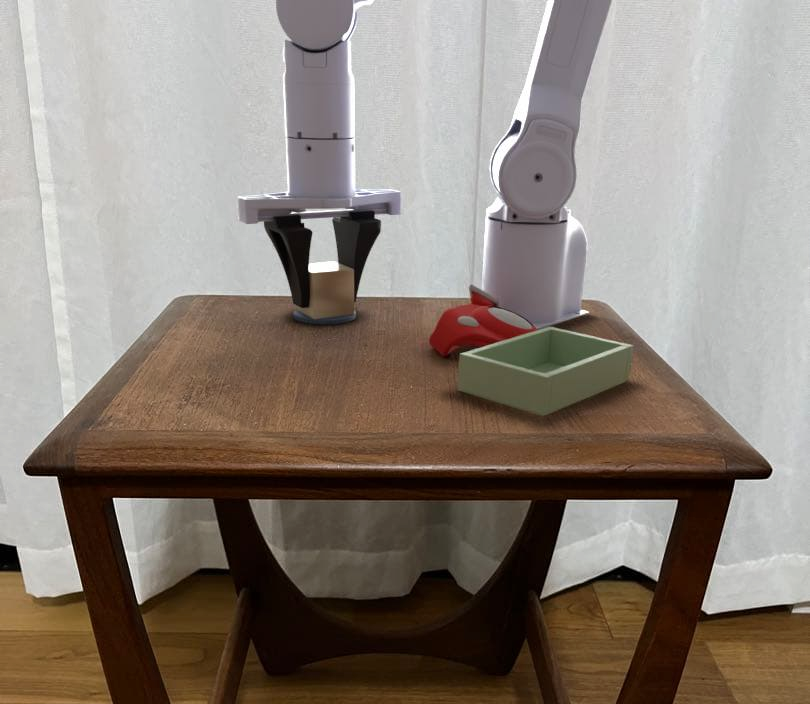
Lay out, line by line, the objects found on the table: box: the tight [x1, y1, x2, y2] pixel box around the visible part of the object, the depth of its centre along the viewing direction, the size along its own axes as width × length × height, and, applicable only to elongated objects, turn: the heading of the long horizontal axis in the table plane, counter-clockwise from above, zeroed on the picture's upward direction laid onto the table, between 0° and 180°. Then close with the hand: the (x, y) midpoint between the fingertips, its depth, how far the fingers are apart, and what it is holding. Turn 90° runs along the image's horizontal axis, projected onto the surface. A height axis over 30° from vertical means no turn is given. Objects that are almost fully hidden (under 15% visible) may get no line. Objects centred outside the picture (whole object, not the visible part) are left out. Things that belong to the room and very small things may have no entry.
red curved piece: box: [428, 284, 537, 358], centre depth 70 cm, size 12×4×10 cm
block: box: [295, 261, 355, 319], centre depth 78 cm, size 4×4×4 cm
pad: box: [293, 309, 357, 325], centre depth 79 cm, size 6×6×1 cm
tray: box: [457, 326, 634, 417], centre depth 61 cm, size 11×7×3 cm
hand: (324, 302), depth 79 cm, fingers closed on block, 4 cm apart
